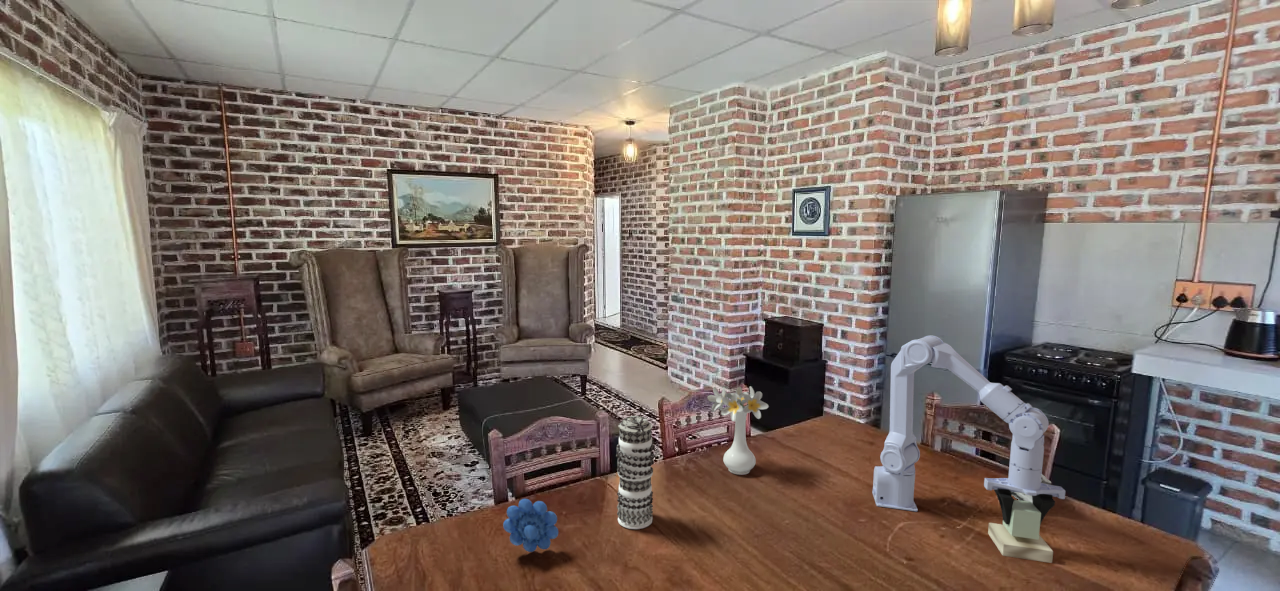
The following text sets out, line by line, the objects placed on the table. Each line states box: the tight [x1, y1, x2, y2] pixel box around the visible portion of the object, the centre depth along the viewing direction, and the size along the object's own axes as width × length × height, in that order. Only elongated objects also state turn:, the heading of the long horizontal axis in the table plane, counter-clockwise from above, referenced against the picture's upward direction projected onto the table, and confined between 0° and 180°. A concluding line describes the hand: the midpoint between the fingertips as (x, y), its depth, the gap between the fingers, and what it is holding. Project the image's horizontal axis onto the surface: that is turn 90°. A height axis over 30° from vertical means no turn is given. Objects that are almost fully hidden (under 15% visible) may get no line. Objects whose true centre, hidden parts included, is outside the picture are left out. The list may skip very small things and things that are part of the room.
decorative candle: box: [615, 415, 656, 530], centre depth 125 cm, size 9×9×25 cm
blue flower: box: [502, 498, 559, 553], centre depth 112 cm, size 12×7×12 cm, turn 101°
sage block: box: [1002, 499, 1041, 540], centre depth 115 cm, size 5×5×6 cm
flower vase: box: [707, 386, 770, 476], centre depth 152 cm, size 13×18×25 cm
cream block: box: [987, 522, 1054, 564], centre depth 116 cm, size 9×9×3 cm
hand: (1020, 524), depth 115 cm, fingers closed on sage block, 5 cm apart
